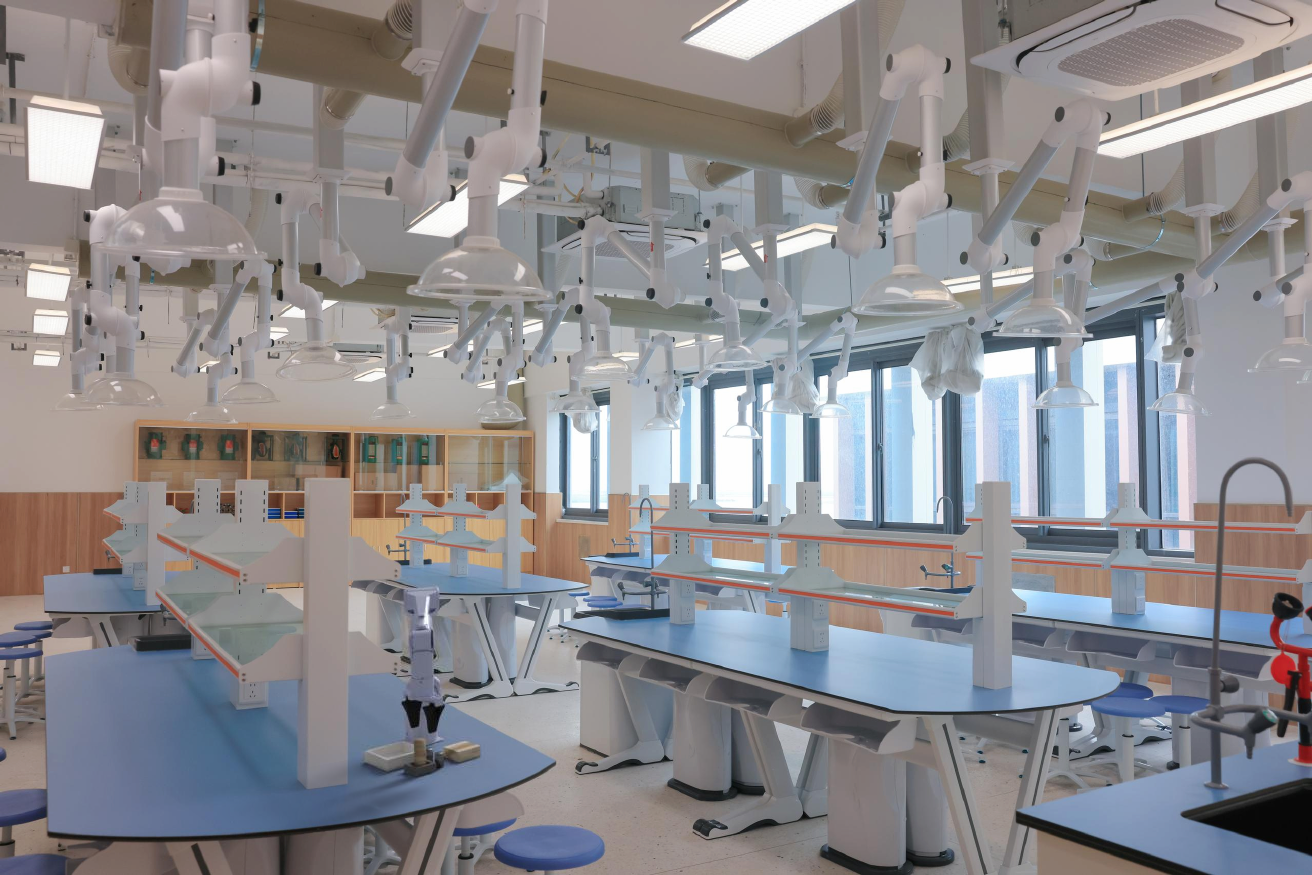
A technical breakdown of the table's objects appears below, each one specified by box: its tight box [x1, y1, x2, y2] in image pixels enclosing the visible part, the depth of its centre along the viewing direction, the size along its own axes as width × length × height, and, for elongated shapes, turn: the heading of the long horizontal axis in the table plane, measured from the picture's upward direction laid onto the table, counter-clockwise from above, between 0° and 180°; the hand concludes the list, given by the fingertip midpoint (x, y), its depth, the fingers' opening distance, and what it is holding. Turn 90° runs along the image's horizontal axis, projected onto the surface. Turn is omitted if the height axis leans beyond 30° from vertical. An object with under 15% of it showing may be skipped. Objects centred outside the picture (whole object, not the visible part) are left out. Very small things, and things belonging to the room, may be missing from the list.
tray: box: [364, 740, 414, 773], centre depth 252 cm, size 12×12×3 cm
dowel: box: [414, 738, 427, 767], centre depth 243 cm, size 3×3×8 cm
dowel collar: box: [403, 759, 437, 777], centre depth 243 cm, size 6×6×2 cm
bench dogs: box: [426, 747, 445, 769], centre depth 249 cm, size 7×2×4 cm, turn 46°
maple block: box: [442, 740, 482, 763], centre depth 255 cm, size 7×7×3 cm
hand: (423, 729), depth 244 cm, fingers open, 7 cm apart
